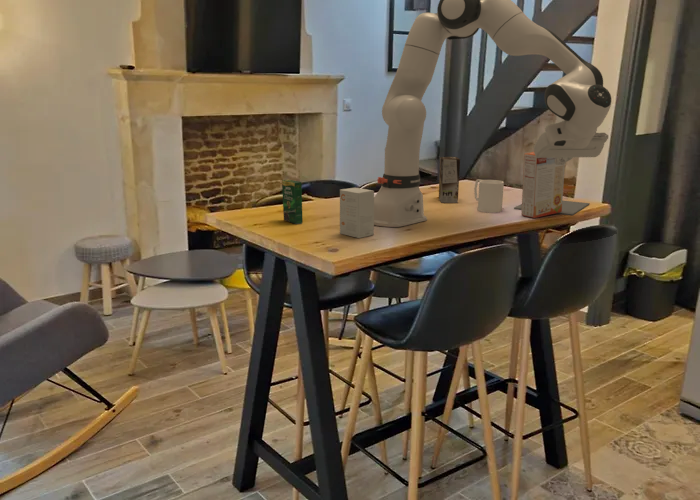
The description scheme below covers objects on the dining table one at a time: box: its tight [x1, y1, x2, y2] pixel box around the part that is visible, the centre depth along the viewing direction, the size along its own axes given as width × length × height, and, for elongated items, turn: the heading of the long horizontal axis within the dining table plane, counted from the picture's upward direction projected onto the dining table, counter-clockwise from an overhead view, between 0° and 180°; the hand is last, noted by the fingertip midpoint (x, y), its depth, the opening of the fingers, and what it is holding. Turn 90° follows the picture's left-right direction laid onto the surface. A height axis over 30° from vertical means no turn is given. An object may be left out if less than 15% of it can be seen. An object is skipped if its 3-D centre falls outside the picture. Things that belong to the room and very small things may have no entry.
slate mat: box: [513, 199, 591, 216], centre depth 221 cm, size 24×20×1 cm
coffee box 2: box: [438, 156, 461, 204], centre depth 230 cm, size 9×6×16 cm
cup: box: [473, 178, 505, 214], centre depth 214 cm, size 8×12×10 cm
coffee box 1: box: [281, 179, 304, 225], centre depth 193 cm, size 8×3×13 cm, turn 35°
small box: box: [339, 187, 375, 239], centre depth 177 cm, size 8×6×13 cm
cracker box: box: [521, 151, 566, 219], centre depth 203 cm, size 14×6×21 cm, turn 123°
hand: (559, 163), depth 192 cm, fingers closed
